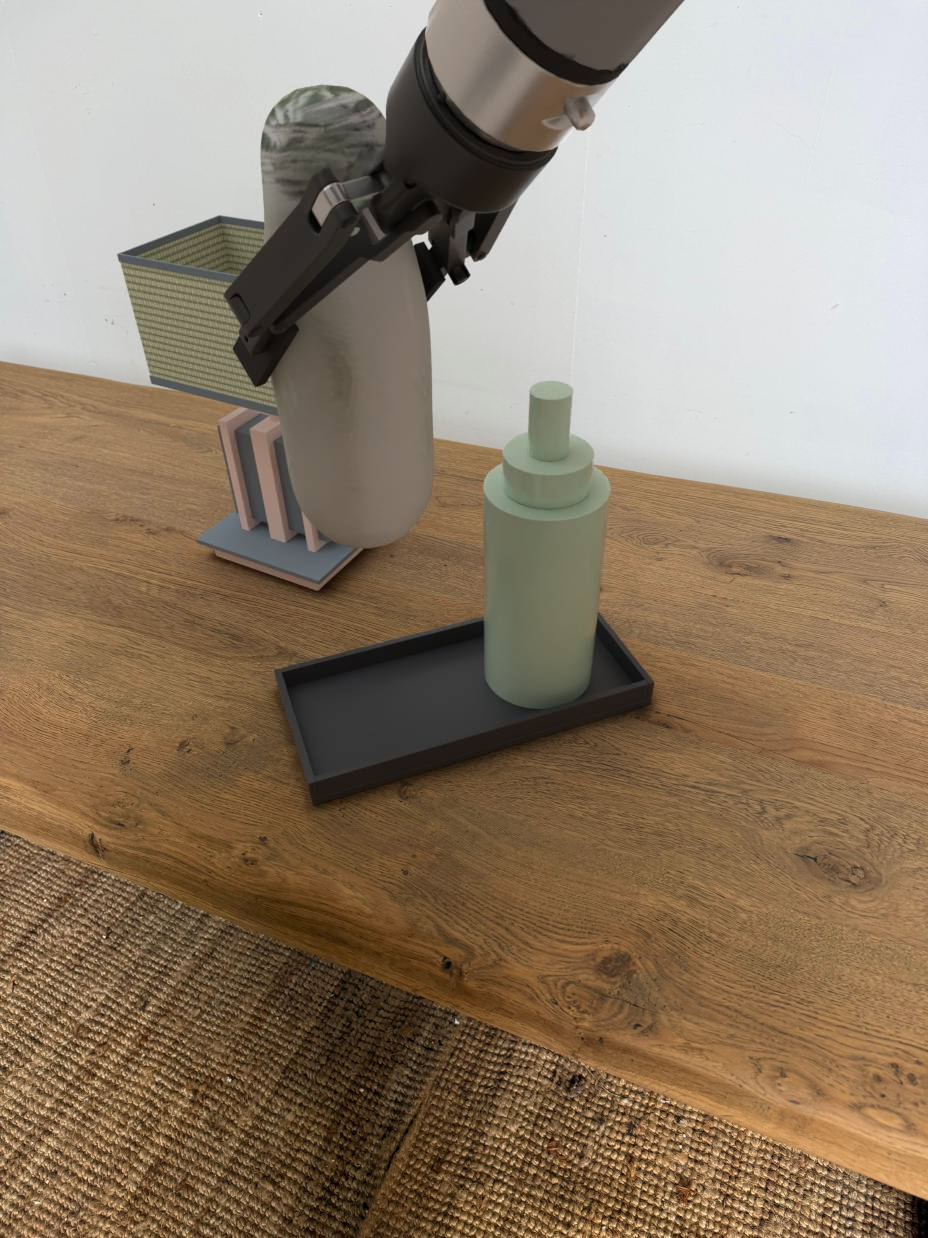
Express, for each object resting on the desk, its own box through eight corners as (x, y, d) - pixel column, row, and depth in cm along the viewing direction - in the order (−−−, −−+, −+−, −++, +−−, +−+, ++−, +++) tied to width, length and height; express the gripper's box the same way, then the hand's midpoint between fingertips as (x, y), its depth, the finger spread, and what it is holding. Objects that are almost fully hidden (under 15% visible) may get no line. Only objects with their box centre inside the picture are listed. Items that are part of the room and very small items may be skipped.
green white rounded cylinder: (293, 506, 66) (220, 77, 48) (424, 488, 68) (401, 67, 50) (305, 582, 58) (224, 108, 41) (452, 560, 60) (437, 95, 42)
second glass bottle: (471, 698, 78) (466, 413, 60) (498, 628, 85) (500, 356, 67) (581, 718, 76) (610, 428, 58) (598, 645, 83) (628, 368, 65)
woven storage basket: (399, 534, 100) (375, 237, 79) (327, 602, 90) (278, 284, 70) (273, 496, 107) (221, 214, 86) (195, 555, 97) (114, 254, 76)
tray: (312, 806, 70) (308, 784, 68) (278, 691, 80) (273, 669, 79) (651, 704, 78) (654, 682, 76) (580, 612, 88) (582, 590, 87)
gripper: (330, 216, 31) (196, 453, 50) (692, 120, 44) (476, 340, 62) (222, 31, 31) (128, 340, 50) (619, -13, 43) (423, 248, 62)
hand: (321, 340), depth 56 cm, fingers closed on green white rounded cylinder, 11 cm apart
